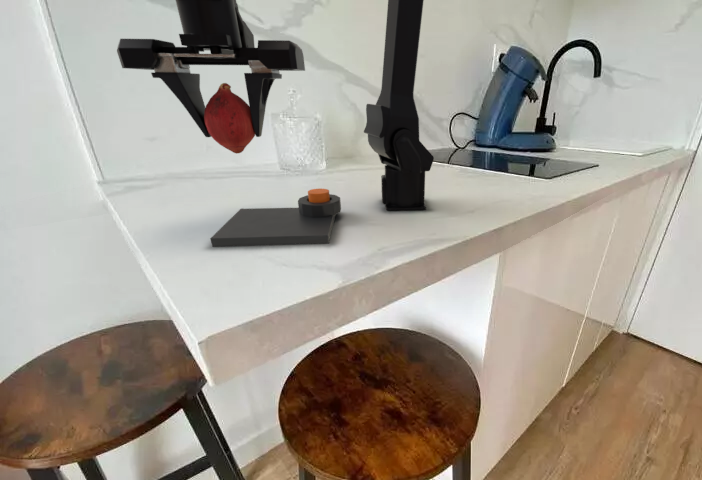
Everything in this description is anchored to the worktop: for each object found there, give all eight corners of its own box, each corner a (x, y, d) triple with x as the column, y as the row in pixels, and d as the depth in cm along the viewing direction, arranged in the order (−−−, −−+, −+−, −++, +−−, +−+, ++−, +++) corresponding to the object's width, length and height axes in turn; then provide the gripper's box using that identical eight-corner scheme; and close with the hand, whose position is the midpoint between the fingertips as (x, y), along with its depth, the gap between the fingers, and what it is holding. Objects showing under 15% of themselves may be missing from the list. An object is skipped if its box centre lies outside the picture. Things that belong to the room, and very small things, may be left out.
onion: (243, 158, 44) (227, 83, 40) (202, 156, 45) (183, 82, 41) (270, 150, 49) (258, 83, 45) (232, 149, 50) (217, 82, 46)
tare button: (330, 198, 55) (329, 188, 54) (329, 204, 52) (328, 193, 51) (310, 198, 54) (309, 188, 54) (307, 204, 52) (306, 193, 51)
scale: (342, 212, 57) (341, 193, 56) (336, 244, 46) (334, 221, 44) (244, 214, 56) (239, 195, 54) (212, 247, 45) (206, 224, 43)
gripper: (303, -4, 46) (318, 129, 54) (149, -7, 45) (186, 130, 52) (284, -27, 36) (305, 139, 44) (86, -31, 35) (142, 140, 43)
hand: (234, 136), depth 46 cm, fingers closed on onion, 6 cm apart
